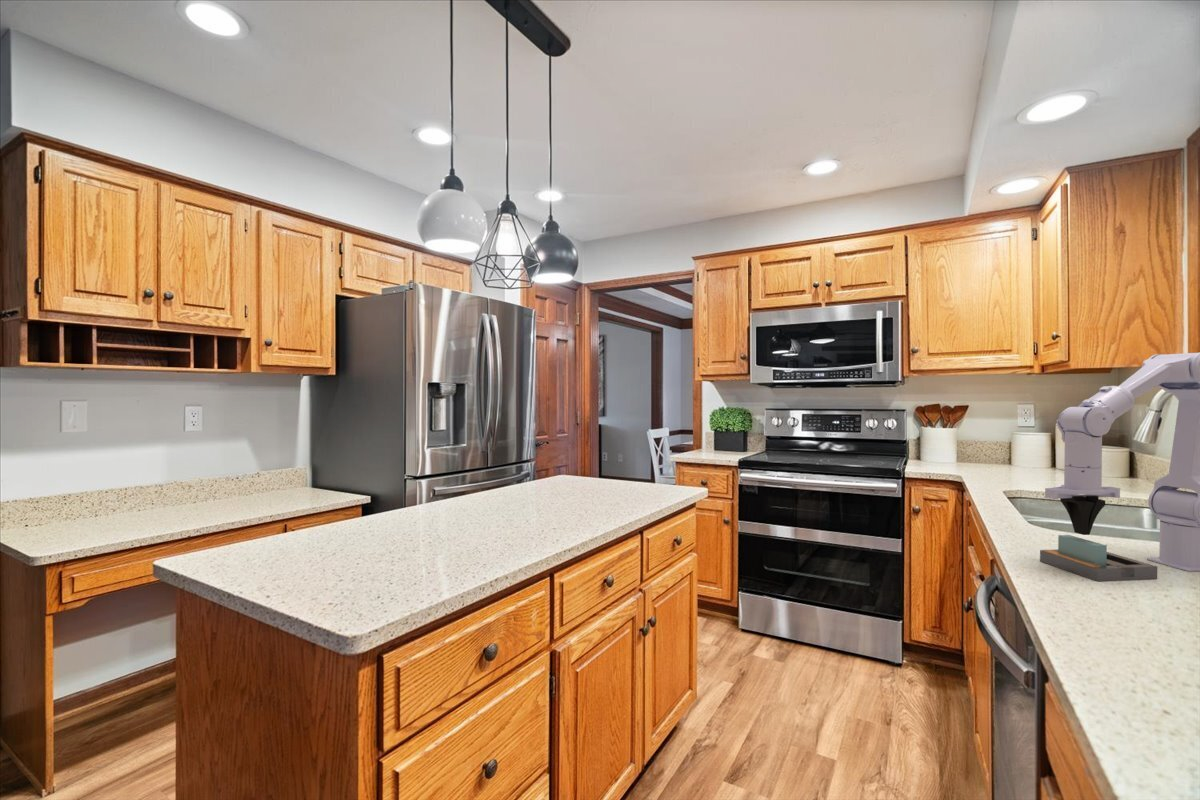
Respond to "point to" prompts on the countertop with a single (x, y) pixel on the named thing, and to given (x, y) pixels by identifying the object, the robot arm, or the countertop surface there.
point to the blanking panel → (1083, 549)
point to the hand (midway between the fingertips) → (1081, 533)
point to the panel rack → (1101, 567)
